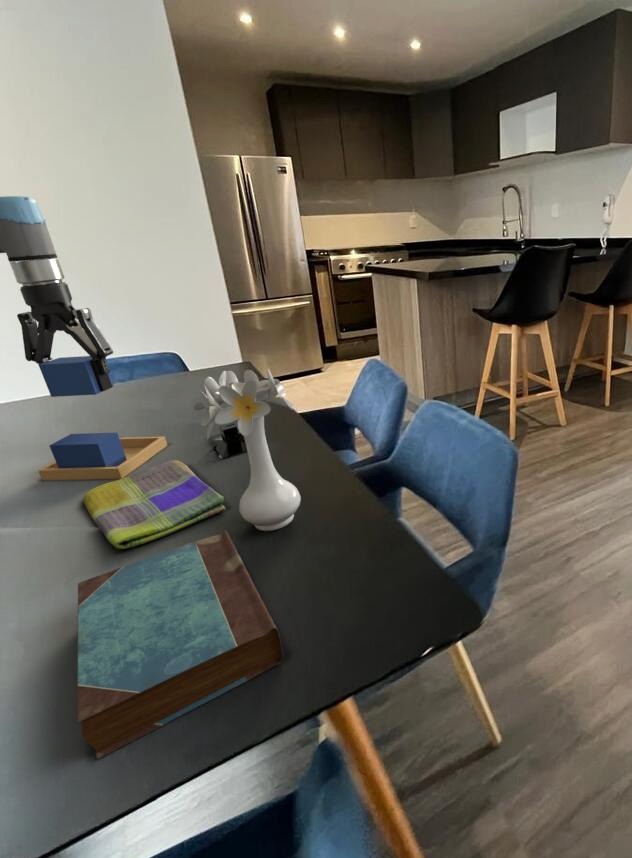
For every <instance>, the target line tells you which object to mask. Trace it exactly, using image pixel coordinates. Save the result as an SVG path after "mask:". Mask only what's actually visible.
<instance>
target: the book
mask: <svg viewBox="0 0 632 858" xmlns="http://www.w3.org/2000/svg"><path fill="white" fill-rule="evenodd" d="M283 662H284V650H283V644H282V641H281V636H280V633H279V630H278V628H277V626H276V624H275V622H274V620H273V618H272V616H271V614H270V613H269V610H268V609H267V606H266V604H265V603H264V600H263V599H262V597H261V594H260V593H259V591H258V589H257V587H256V585H255V583H254V581H253V579H252V577H251V575H250V574H249V571H248V570H247V568H246V566H245V564H244V561H243V559H242V558H241V556H240V554H239V552H238V550H237V549H236V546H235V544H234V542H233V540H232V538H231V537H230V534H229V532H228V531H227V530H223V531H221V532H220V533H219V534H217V535H212V536H209V537H204V538H202V539H199V540H195V541H193V542H190V543H186V544H183V545H181V546H178V547H174V548H172V549H169V550H166V551H163V552H160V553H158V554H155V555H152V556H149V557H147V558H144V559H141V560H138V561H136V562H133V563H130V564H126V565H124V566H122V567H119V568H116V569H113V570H111V571H108V572H105V573H102V574H99V575H96V576H94V577H93V576H92V577H91V578H87V579H85V580H82V581H80V582H78V583H77V680H76V681H77V685H76V686H77V689H76V690H77V693H76V695H77V696H76V697H77V699H76V700H77V701H76V702H77V703H76V706H77V707H76V708H77V709H76V710H77V711H76V712H77V713H76V714H77V723H81V734H82V737H83V740H84V741H85V742H86V743H87V744H88V745H89V746H91V747H92V748H93V749H94V750H95V758H96V760H99V759H102V758H103V757H106V756H107V755H109V754H111V753H113V752H116V751H117V750H119V749H121V748H123V747H124V746H127V745H128V744H130V743H132V742H134V741H136V740H138V739H140V738H142V737H144V736H145V735H147V734H150V733H151V732H153V731H155V730H157V729H159V728H161V727H163V726H164V725H166V724H168V723H171V722H172V721H174V720H176V719H178V718H181V717H182V716H184V715H186V714H188V713H190V712H192V711H193V710H195V709H197V708H200V707H201V706H203V705H205V704H206V703H208V702H210V701H212V700H214V699H216V698H218V697H220V696H222V695H224V694H226V693H227V692H230V691H232V690H233V689H236V688H237V687H239V686H241V685H243V684H244V683H246V682H248V681H250V680H252V679H254V678H256V677H258V676H259V675H261V674H263V673H264V672H267V671H268V670H270V669H272V668H274V667H276V666H279V665H281V664H282V663H283Z"/></svg>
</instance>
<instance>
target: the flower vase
mask: <svg viewBox="0 0 632 858" xmlns="http://www.w3.org/2000/svg"><path fill="white" fill-rule="evenodd" d="M266 370H267V379H263V380H259V377H258V375H257V374H256V373H255V372H254V371H253V370H251V369H246V370H244V372H243V380H244V382H240V381H239V379H238V377H237V376H236V374H235V372H234V371H232V370H223V371H222V372H221V374H220V376H219V379H218V383H217V381H216V379H214V377H211V376H207V377H206V378H205V380H204V385H203V390H204V392H203V391H202V390H199V392H198V395H199V398H200V399H199V400H198V401H197V402H196V403H195V404H194V406H193V410H194V411H200V410H203V409H205V411H204V412H203V413H202V415H201V417H200V424H201V427H202V428H205V427H206V426H207V425H208V426H207V428H206V441H208V440H209V439H210V436H211V434H212V432H213V430H214V428H215V426H216V425H218V426H219V425H223V424H228V423H231V422H233V423H234V421H236V422H237V430H238V432H239V431H240V433H241V434H242V435H243V436H244V439H245V443H246V447H247V452H246V453H247V457H248V463H249V467H250V478H249V482H248V486H247V488H246V489H245V491H244V492H243V493H242V495H241V498H240V500H239V503H238V510H239V511H238V512H239V515H240V516H241V517H242V519H243V520H244V521H245V522H247V523H250V524H251V525H253V526H254V527H255V528H256V529H257V530H258V531H262V532H271V531H272V532H273V531H277V530H280V529H282V528H285V527H286V526H288V525H289V524H290V523H292V521H293V520H294V517H295V513H296V512H297V510H298V509H299V508H300V505H301V501H302V497H301V494H300V491H299V489H298V488H297V487H296V486H295V485H294V484H293V483H292V482H290V481H289V480H286V478H285V479H284V478H283V477H282V476H281V475H280V474H279V472H278V470H277V469H276V467H275V465H274V463H273V460H272V456H271V452H270V449H269V446H268V441H267V437H266V430H265V416H267V415H268V414H270V412H271V409H272V408H271V406H270V405H269V404H268V403H269V402H271V403H273V404H275V405H279V406H283V407H285V408H287V409H289V410H292V411H294V412H298V409H297V408H296V407H295V406H294V405H293V403H292V402H290V401H289V400H288V399H286V398H284V397H286V395H287V392H286V389H285V387H284V386H283V384H281V381H280V380H279V379H278V378H274V377H273V374H272V372H271V371H270V369H269V368H267V369H266Z"/></svg>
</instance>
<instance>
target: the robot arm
mask: <svg viewBox="0 0 632 858" xmlns="http://www.w3.org/2000/svg"><path fill="white" fill-rule="evenodd" d="M46 222H47V220H46V219H45V218H44V215H43V213H42V210H41V208H40V206H39V203H38V202H37V201H36V200H35V199H34V198H33V197H30V196H21V195H17V196H16V195H13V196H11V195H9V196H7V195H6V196H0V254H6V256H7V260H8V262H9V265H10V267H11V270H12V273H13V275H14V278H15V281H16V283H17V284H19V285H22V286H20V288H19V291H20V293H21V296H22V298H23V301H24V303H25V305H26V306H29V307H30V311H26V312H21V313H17V315H16V317H17V319H18V321H19V324H20V326H21V334H22V341H23V342H22V343H23V350H24V357H25V360H26V361H28V362H34V363H36V364H37V365H39V364H42V363H45V362H48V361H51V360H54V358H53V357H52V356H51V355H52V349H53V344H54V337H55V333H56V332H64V333H65V334H67V335H68V336H70V337H71V338H72V339H73V340H74V341H75V342H76V343H77V344H78V345H79V346H80V347H81V349H82V350H83V351H85V352H86V353H87V355H88V356H91V357H92V359H91V361H90V364H91V366H92V369H93V372H94V375H95V378H96V380H97V383H98V386H99V389H100V391H103V392H106V391H107V390H110V389H112V388H113V387H112V384H111V381H110V378H109V375H108V373H110V371H111V370H110V368H109V367H110V366H109V365H108V362H107V357H108V356H110V355H112V354H114V350H113V348H112V347H111V345H110V344H109V342H108V340H107V338H106V337H105V335H104V334H103V332H102V331H101V329H100V328H99V326H98V325H97V323H96V321H95V319H94V318H93V314H92V310H91V309H90V308H89V307H84V308H75V307H74V306H73V304H72V301H73V297H72V294H71V291H70V289H69V285H68V283H66V282H65V281H63V280H64V279H66V278H65V274H64V272H63V269H62V266H61V263H60V261H59V258H58V255H57V252H56V250H55V247H54V244H53V243H54V242H53V241H52V238H51V235H50V231H49V229H48V227H47V223H46Z"/></svg>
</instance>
